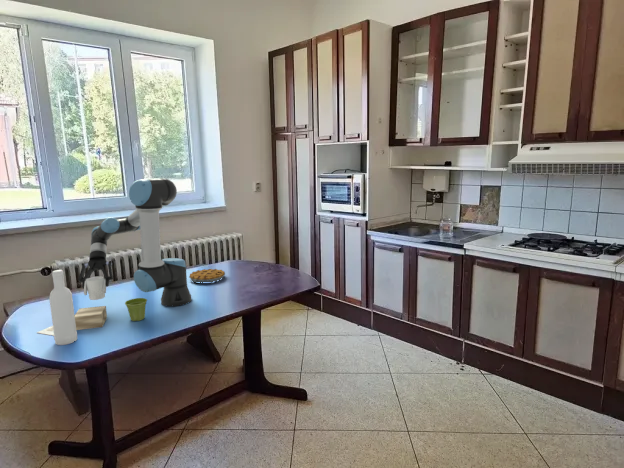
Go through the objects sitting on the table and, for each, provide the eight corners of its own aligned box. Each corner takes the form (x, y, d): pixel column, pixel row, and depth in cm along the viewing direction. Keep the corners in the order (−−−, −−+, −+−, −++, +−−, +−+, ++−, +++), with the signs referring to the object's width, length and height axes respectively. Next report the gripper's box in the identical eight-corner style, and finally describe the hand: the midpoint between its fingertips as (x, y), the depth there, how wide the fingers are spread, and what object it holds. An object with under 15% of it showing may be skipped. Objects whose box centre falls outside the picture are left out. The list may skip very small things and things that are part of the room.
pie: (220, 285, 234) (220, 277, 233) (184, 285, 234) (183, 277, 233) (228, 274, 255) (228, 267, 254) (195, 274, 255) (195, 267, 254)
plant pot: (134, 324, 177) (133, 306, 176) (122, 320, 182) (120, 302, 181) (152, 317, 185) (151, 300, 183) (140, 313, 190) (138, 296, 188)
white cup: (109, 296, 196) (107, 276, 194) (96, 301, 188) (94, 281, 187) (97, 294, 198) (95, 275, 196) (84, 299, 191) (81, 280, 189)
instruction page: (76, 328, 174) (75, 327, 174) (57, 336, 165) (57, 335, 165) (55, 324, 178) (55, 324, 177) (36, 332, 169) (36, 332, 169)
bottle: (50, 343, 159) (40, 272, 154) (68, 335, 166) (59, 267, 161) (64, 346, 156) (55, 274, 151) (82, 338, 164) (73, 269, 158)
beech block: (80, 320, 182) (79, 308, 181) (107, 317, 185) (105, 305, 184) (74, 330, 172) (72, 317, 170) (102, 327, 175) (100, 314, 174)
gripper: (121, 255, 208) (119, 294, 195) (77, 259, 202) (73, 299, 189) (118, 247, 202) (116, 286, 189) (73, 251, 196) (68, 291, 184)
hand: (94, 292), depth 189 cm, fingers closed on white cup, 8 cm apart
